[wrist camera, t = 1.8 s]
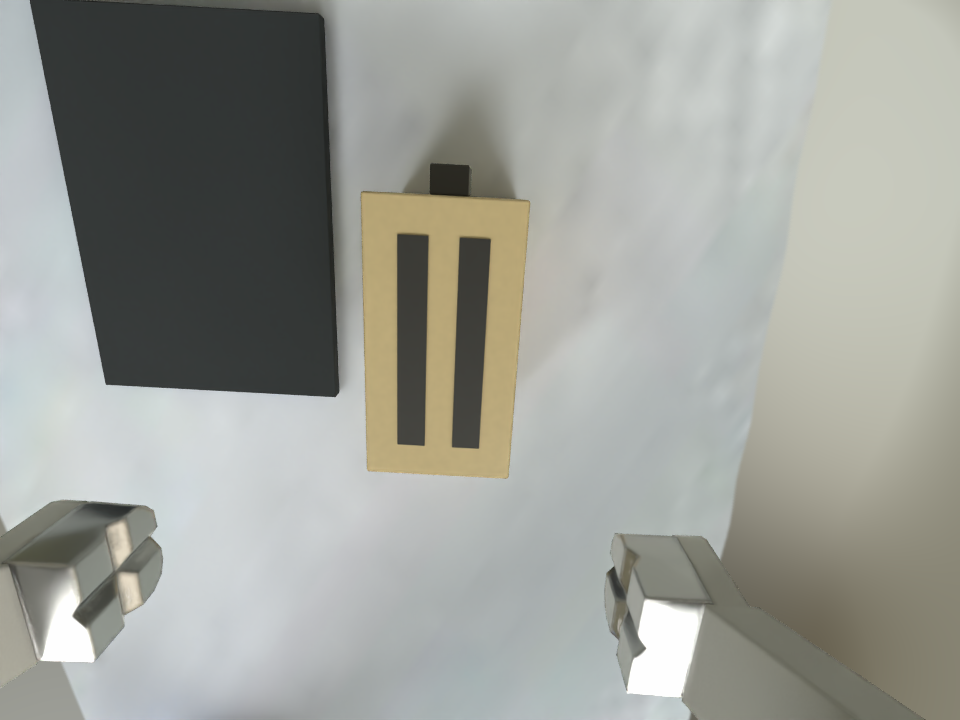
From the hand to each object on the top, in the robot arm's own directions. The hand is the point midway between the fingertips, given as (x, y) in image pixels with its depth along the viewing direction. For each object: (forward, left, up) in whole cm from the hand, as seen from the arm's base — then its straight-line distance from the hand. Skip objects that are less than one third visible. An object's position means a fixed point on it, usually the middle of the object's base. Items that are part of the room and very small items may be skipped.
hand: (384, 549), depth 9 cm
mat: (+4, +14, -21) cm, 26 cm away
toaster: (0, 0, -21) cm, 21 cm away
